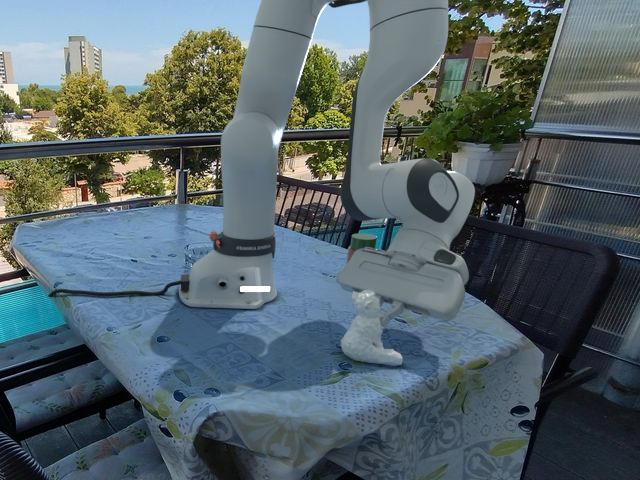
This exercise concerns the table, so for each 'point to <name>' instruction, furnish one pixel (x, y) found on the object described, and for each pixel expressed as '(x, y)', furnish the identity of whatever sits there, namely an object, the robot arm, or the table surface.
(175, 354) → the table surface
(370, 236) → the brown jar green lid
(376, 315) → the white creature statuette
